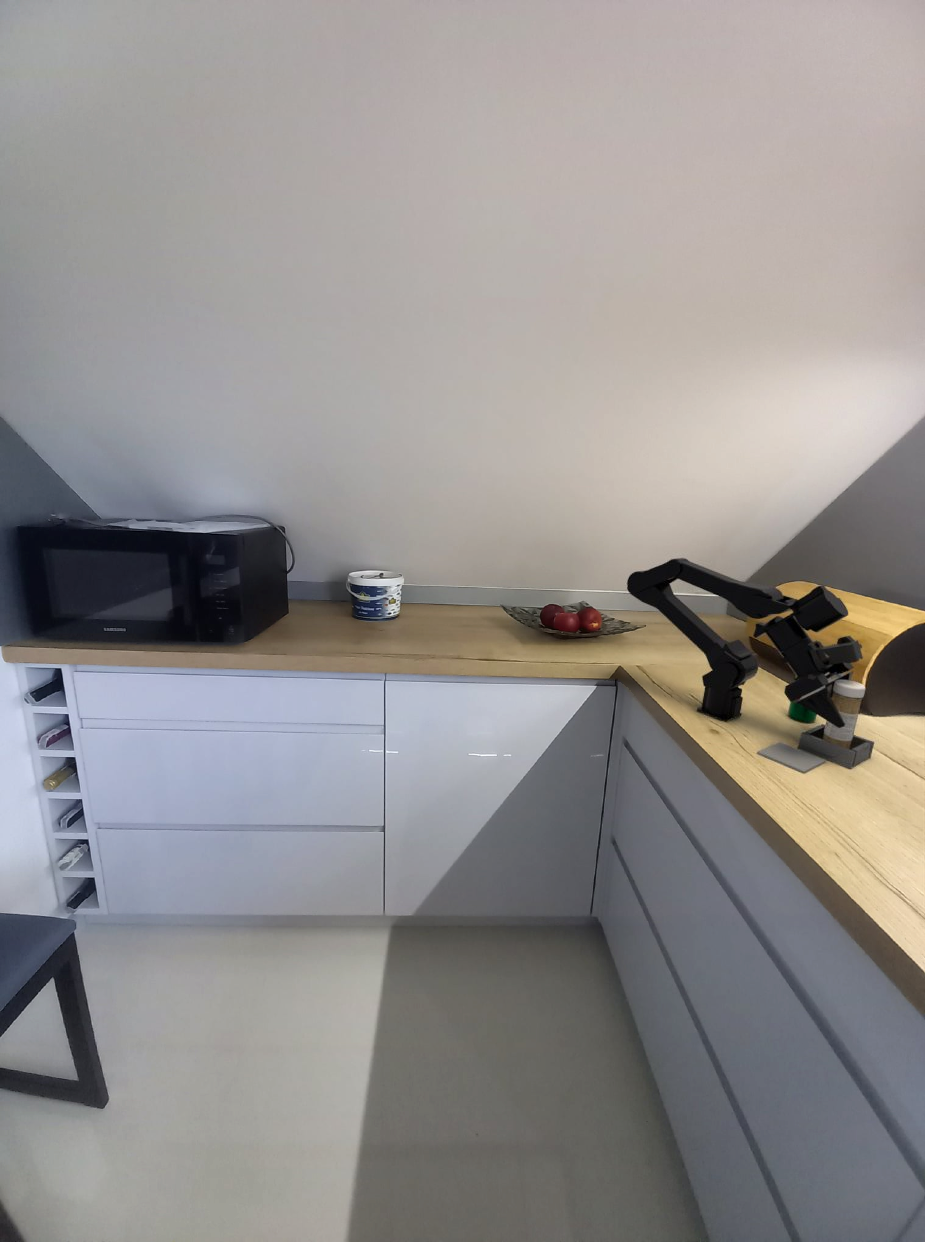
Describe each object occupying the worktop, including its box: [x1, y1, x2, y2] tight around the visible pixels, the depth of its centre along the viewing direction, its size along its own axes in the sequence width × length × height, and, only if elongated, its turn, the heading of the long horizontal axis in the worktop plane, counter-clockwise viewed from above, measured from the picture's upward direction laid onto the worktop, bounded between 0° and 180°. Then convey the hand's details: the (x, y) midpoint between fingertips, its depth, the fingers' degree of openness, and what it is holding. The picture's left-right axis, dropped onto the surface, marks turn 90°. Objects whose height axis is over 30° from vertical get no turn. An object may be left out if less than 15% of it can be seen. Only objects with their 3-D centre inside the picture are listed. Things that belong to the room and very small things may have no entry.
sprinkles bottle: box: [823, 680, 866, 749], centre depth 101 cm, size 5×5×13 cm
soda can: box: [787, 675, 818, 724], centre depth 116 cm, size 5×5×12 cm
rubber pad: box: [756, 741, 827, 774], centre depth 100 cm, size 8×8×1 cm
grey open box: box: [797, 723, 875, 770], centre depth 102 cm, size 9×9×3 cm
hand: (850, 720), depth 100 cm, fingers open, 9 cm apart
